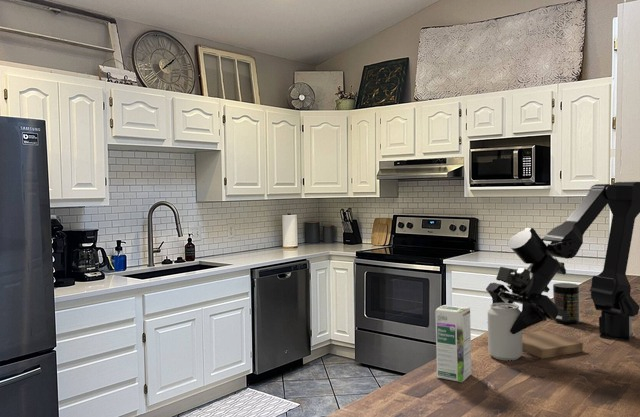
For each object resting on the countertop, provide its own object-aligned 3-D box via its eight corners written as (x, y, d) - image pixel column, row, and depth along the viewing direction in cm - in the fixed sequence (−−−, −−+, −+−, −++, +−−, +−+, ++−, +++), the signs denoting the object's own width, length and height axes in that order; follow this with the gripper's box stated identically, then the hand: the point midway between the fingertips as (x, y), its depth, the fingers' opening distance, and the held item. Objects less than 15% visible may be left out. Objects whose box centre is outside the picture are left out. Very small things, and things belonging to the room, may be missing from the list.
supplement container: (585, 322, 148) (584, 285, 147) (570, 326, 144) (569, 288, 144) (563, 317, 153) (562, 282, 153) (548, 321, 150) (547, 284, 150)
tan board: (544, 337, 135) (544, 330, 134) (582, 351, 123) (582, 342, 123) (505, 344, 131) (505, 336, 130) (541, 358, 119) (541, 350, 119)
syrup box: (435, 378, 110) (434, 309, 109) (446, 369, 115) (444, 303, 114) (462, 383, 107) (460, 312, 106) (472, 374, 111) (470, 306, 111)
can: (525, 362, 117) (524, 309, 117) (490, 361, 119) (489, 308, 118) (519, 351, 125) (518, 301, 124) (486, 350, 126) (485, 301, 126)
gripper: (491, 250, 131) (454, 298, 128) (547, 259, 113) (506, 316, 110) (517, 278, 134) (482, 327, 131) (576, 291, 116) (537, 348, 113)
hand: (499, 328), depth 121 cm, fingers closed on can, 7 cm apart
